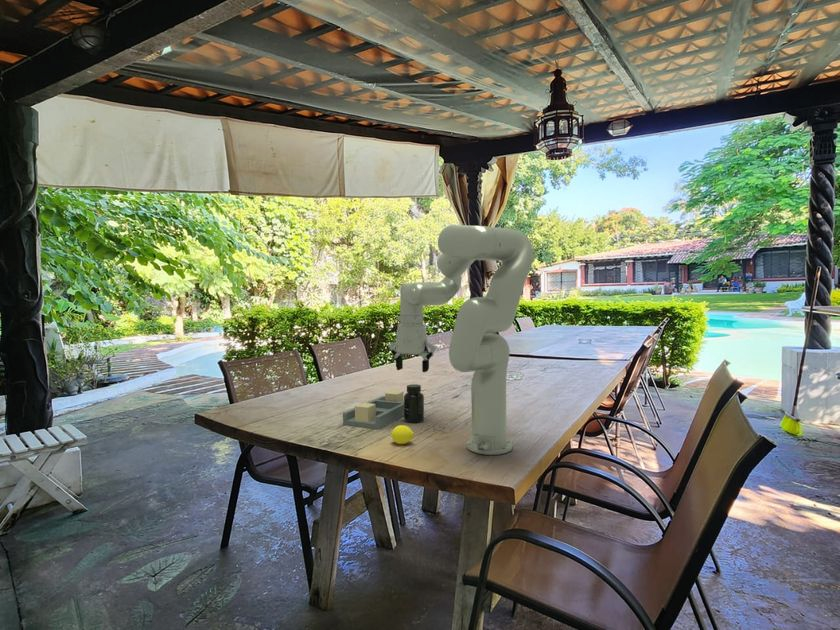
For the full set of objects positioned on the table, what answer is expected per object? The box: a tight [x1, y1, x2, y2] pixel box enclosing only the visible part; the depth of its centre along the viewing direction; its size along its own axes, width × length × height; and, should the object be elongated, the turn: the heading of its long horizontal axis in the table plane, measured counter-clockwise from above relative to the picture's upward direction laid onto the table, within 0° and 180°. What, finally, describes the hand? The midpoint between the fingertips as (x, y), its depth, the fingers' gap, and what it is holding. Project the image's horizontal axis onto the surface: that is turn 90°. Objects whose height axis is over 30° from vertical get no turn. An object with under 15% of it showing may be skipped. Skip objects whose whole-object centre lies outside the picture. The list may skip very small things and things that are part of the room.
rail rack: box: [342, 390, 405, 430], centre depth 156 cm, size 26×14×6 cm, turn 155°
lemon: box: [390, 424, 415, 445], centre depth 128 cm, size 7×5×5 cm
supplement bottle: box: [403, 383, 425, 424], centre depth 151 cm, size 7×7×12 cm
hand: (412, 370), depth 151 cm, fingers open, 9 cm apart
